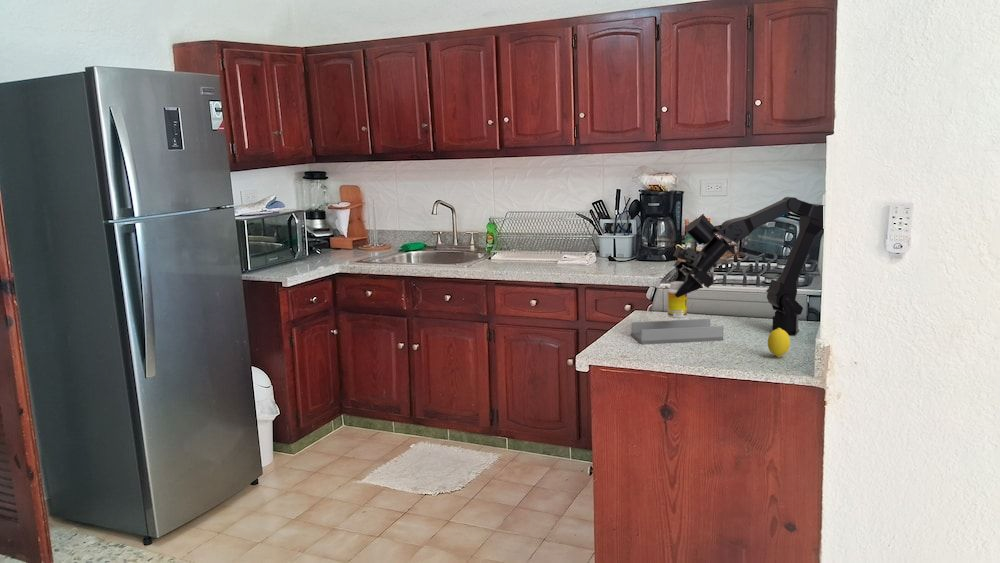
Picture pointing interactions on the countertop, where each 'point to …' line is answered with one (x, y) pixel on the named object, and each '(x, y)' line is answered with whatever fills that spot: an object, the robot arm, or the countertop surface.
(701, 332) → the cable duct
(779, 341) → the lemon
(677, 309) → the supplement bottle
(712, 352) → the countertop surface
